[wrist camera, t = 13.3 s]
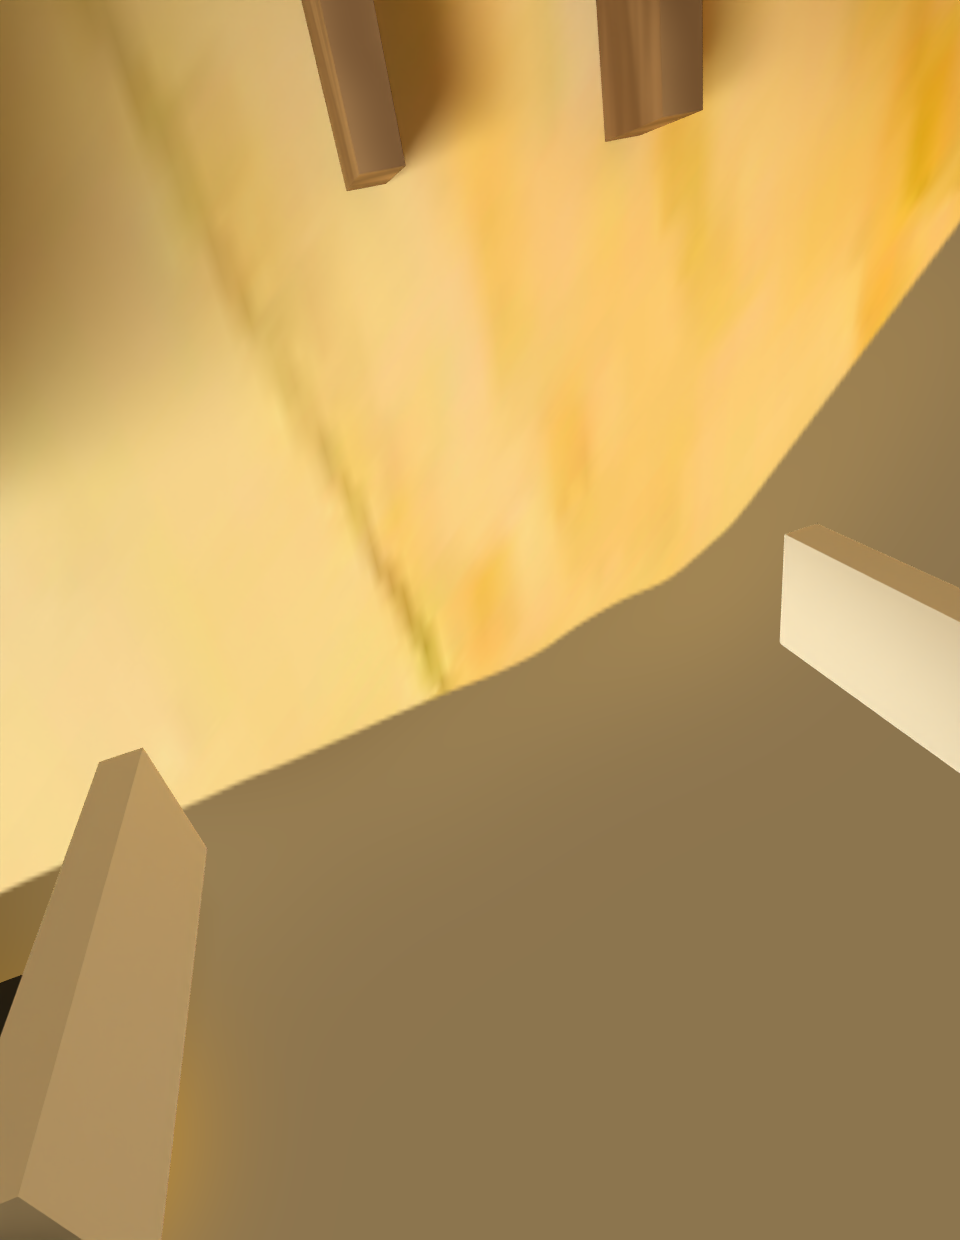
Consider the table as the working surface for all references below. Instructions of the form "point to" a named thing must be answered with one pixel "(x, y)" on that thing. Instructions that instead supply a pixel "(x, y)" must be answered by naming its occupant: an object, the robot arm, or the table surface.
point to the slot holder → (629, 59)
